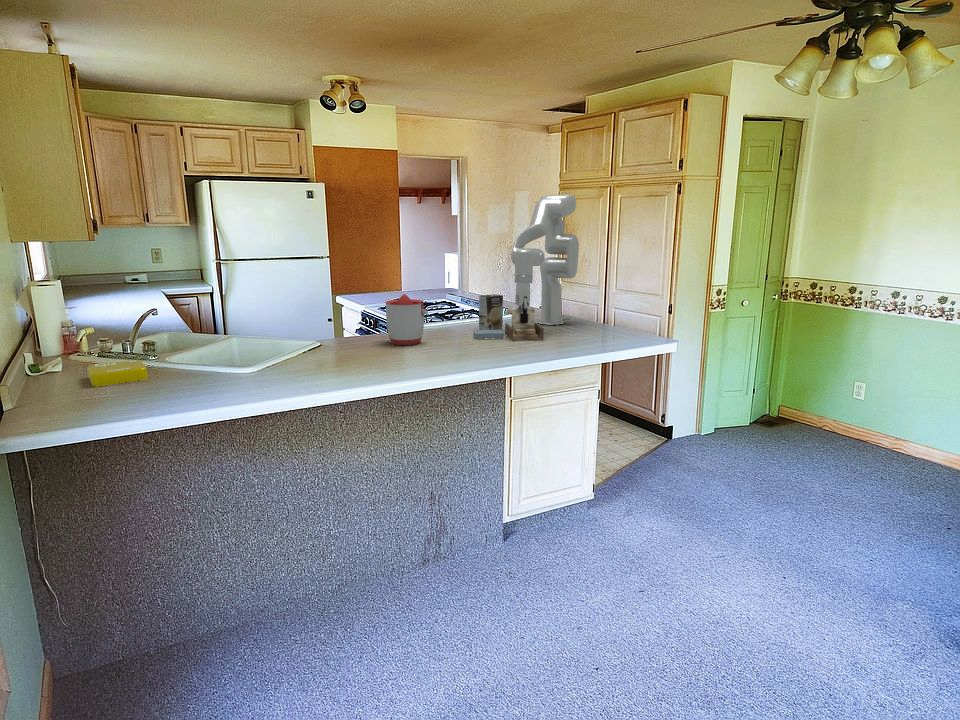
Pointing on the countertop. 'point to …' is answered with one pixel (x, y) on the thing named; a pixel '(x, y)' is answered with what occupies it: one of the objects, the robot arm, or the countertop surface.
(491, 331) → the slate board
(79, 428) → the countertop surface
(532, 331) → the upper oak offcut
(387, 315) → the citrus juicer
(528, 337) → the walnut rack
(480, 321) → the coffee box
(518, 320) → the tall cream block
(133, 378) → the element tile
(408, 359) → the countertop surface
